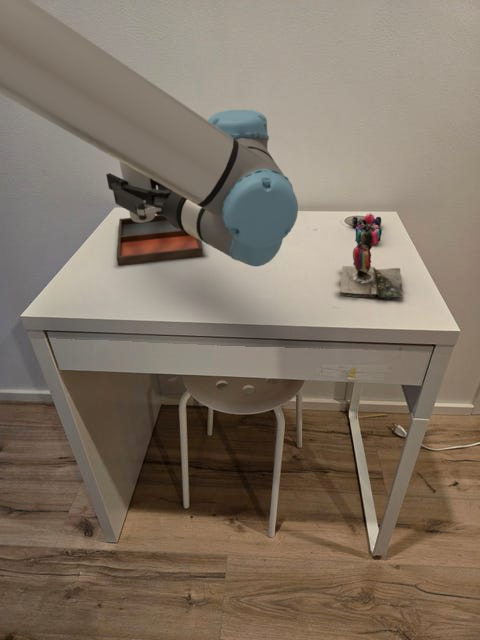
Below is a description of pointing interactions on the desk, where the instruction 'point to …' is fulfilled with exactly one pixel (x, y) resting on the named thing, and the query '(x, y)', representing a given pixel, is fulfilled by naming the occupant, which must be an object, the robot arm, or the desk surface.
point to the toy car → (362, 221)
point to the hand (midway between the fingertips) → (122, 177)
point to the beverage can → (138, 181)
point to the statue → (369, 268)
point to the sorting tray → (154, 242)
